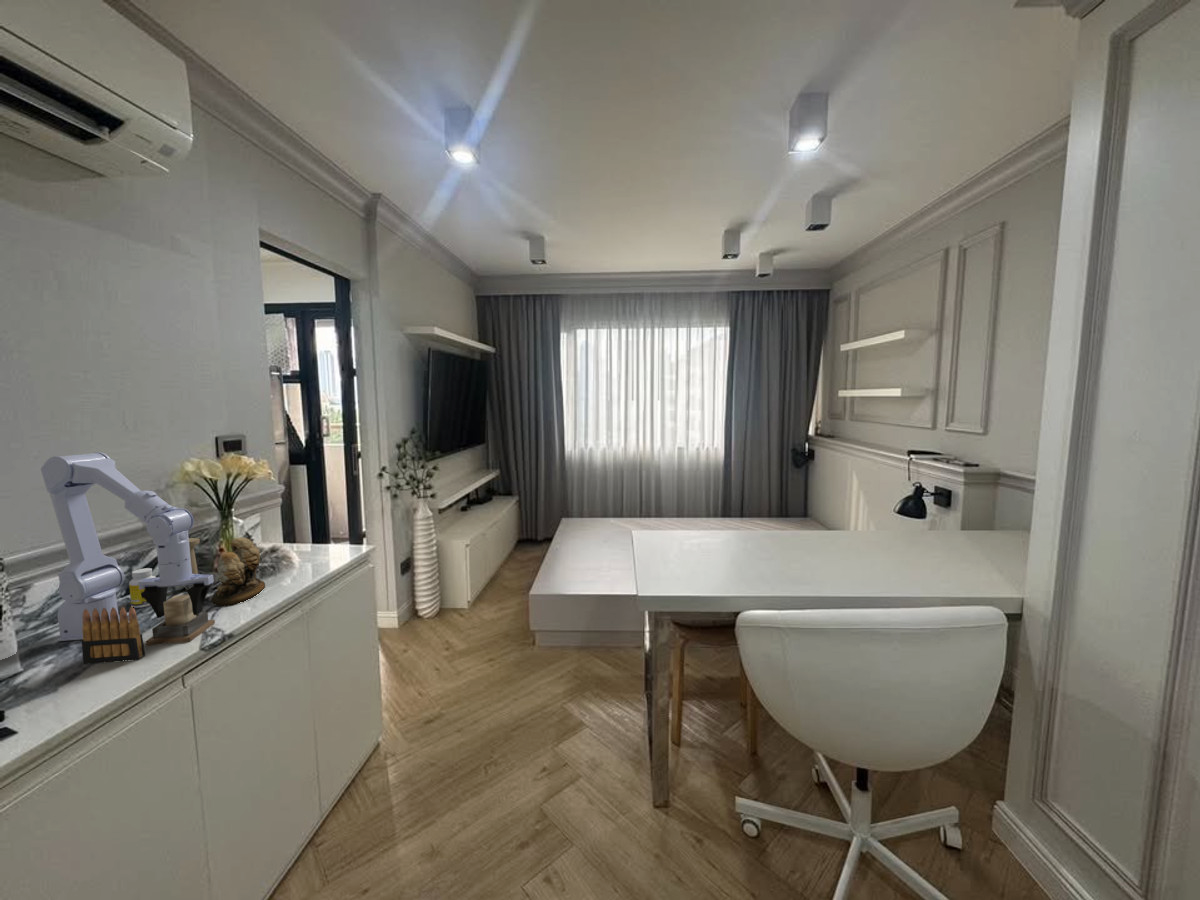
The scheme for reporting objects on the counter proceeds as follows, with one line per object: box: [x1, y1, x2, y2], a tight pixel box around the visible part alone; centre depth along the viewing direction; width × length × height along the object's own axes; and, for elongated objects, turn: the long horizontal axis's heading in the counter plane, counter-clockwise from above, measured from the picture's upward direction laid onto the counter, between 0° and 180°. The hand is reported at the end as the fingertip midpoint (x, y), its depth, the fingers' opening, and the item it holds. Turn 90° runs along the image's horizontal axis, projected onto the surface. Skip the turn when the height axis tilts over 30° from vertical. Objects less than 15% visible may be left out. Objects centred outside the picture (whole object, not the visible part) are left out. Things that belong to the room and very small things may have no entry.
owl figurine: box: [210, 537, 266, 607], centre depth 134 cm, size 18×12×17 cm, turn 22°
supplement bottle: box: [128, 567, 157, 609], centre depth 128 cm, size 5×5×10 cm
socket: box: [145, 611, 216, 646], centre depth 111 cm, size 9×9×4 cm
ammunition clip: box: [81, 605, 146, 665], centre depth 100 cm, size 11×2×12 cm, turn 98°
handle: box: [189, 537, 200, 574], centre depth 138 cm, size 5×6×15 cm
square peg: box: [163, 594, 196, 626], centre depth 111 cm, size 4×4×8 cm
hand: (180, 614), depth 111 cm, fingers open, 7 cm apart
